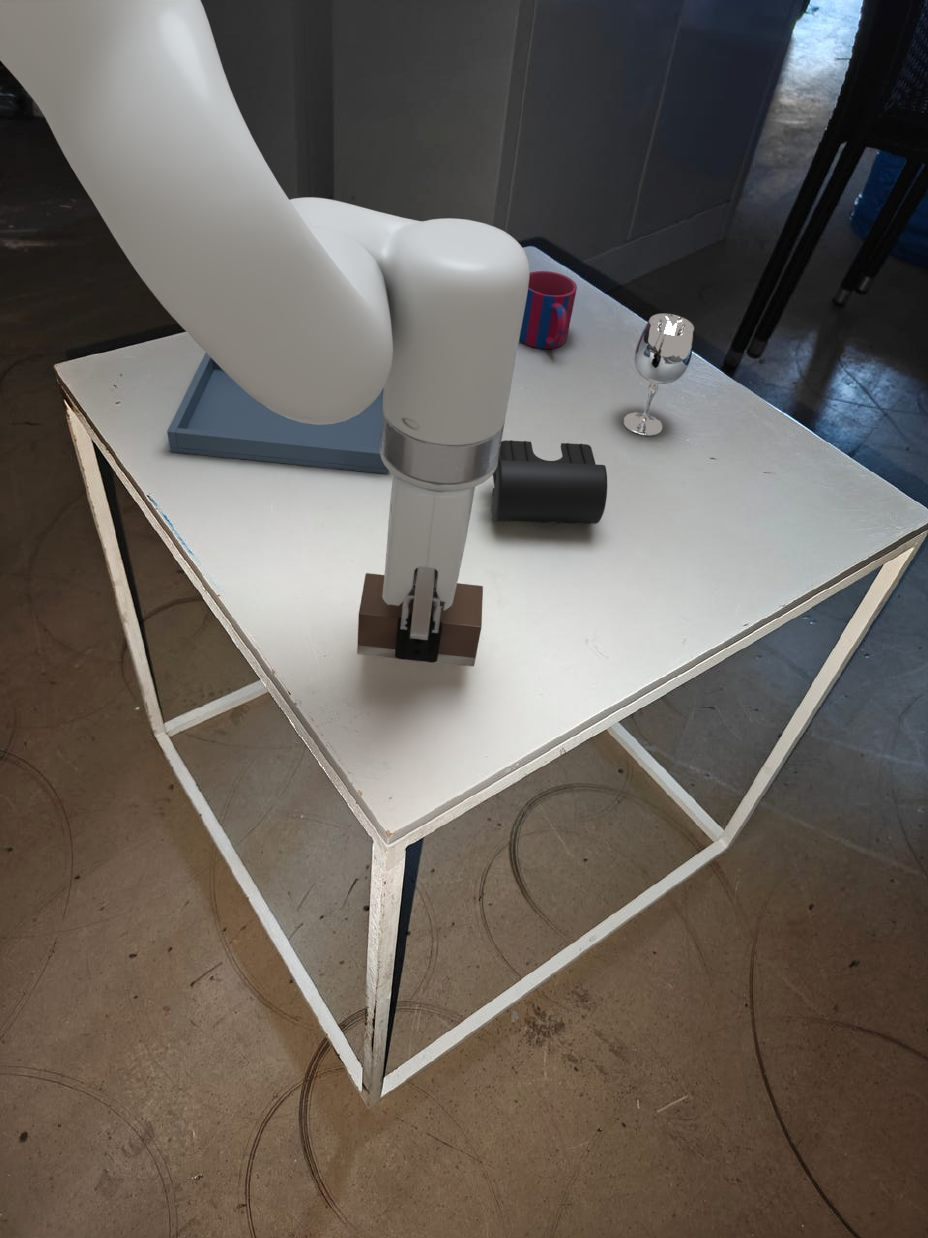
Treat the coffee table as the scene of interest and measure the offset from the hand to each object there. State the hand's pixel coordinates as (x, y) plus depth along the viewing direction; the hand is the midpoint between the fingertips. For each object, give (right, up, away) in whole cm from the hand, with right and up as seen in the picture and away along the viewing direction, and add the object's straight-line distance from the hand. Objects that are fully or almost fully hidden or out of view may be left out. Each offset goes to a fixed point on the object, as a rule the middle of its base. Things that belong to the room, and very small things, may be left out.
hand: (418, 631), depth 66 cm
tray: (-14, +22, +24) cm, 36 cm away
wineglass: (+24, +23, +30) cm, 44 cm away
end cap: (+11, +11, +17) cm, 23 cm away
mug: (+13, +35, +41) cm, 55 cm away
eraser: (0, -1, +1) cm, 1 cm away
